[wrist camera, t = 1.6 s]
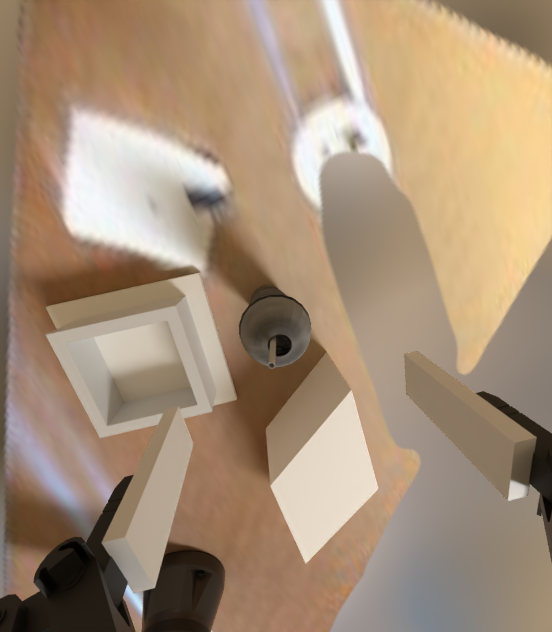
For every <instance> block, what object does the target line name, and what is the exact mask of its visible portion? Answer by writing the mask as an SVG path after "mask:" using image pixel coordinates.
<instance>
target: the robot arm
mask: <svg viewBox="0 0 552 632" xmlns="http://www.w3.org/2000/svg"><path fill="white" fill-rule="evenodd" d="M404 358H405V377H406V394H407V395H408V396H409V397H410V398H411V399H412V400H413V401H414V403H415V404H416V405H417V406H418V407H419V408H420V409H421V410H422V411H423V412H424V413H425V414H426V415H427V416H428V417H429V418H430V419H431V420H432V421H433V423H435V425H436V426H437V427H438V428H439V429H440V430H441V431H442V432H443V433H444V434H445V435H446V436H447V437H448V438H449V439H450V440H451V441H452V442H453V443H454V445H455V446H456V447H457V448H458V449H459V450H460V451H461V452H462V453H463V454H464V455H465V456H466V457H467V458H468V459H469V460H470V461H471V462H472V464H473V465H475V467H476V468H477V469H478V470H479V471H480V472H481V473H482V474H483V475H484V476H485V477H486V478H487V479H488V480H489V481H490V482H491V483H492V484H493V485H494V487H495V488H496V489H497V490H498V491H499V492H500V493H501V494H502V495H503V496H504V497H505V498H506V499H507V500H508V501H509V500H513V499H517V498H521V497H525V496H528V492H529V485H530V484H531V485H532V486H533V487H534V488H535V489H537V491H538V492H540V498H539V503H538V509H537V515H539V516H541V514H542V516H543V521H544V526H545V531H546V535H547V541H548V546H549V551H550V556H551V561H552V433H550V432H549V431H547V430H546V429H544V428H543V427H541V426H540V425H538V424H537V423H535V422H534V421H532V420H531V419H529V418H528V417H526V416H525V415H523V414H522V413H519V411H517V410H516V409H515V408H513V407H510V406H509V404H507V403H506V402H504V401H502V400H501V399H500V398H498V397H496V396H493V395H491V394H489V393H486V392H484V391H483V392H479V393H474V392H473V391H472V390H470V389H469V388H468V387H466V386H465V385H463V384H462V383H461V382H459V381H458V380H457V379H455V378H454V377H452V376H451V375H450V374H448V373H447V372H445V371H444V370H443V369H441V368H440V367H438V366H437V365H436V364H434V363H433V362H432V361H430V360H429V359H428V358H426V357H425V356H423V355H422V354H421V353H419V352H418V351H415V352H411V353H406V354H404ZM192 448H193V442H192V439H191V436H190V434H189V431H188V429H187V426H186V424H185V421H184V419H183V416H182V414H181V411H180V409H179V406H178V407H173V408H169V409H165V411H164V413H163V415H162V417H161V419H160V421H159V423H158V425H157V428H156V430H155V432H154V434H153V436H152V438H151V440H150V442H149V444H148V446H147V449H146V451H145V453H144V455H143V457H142V459H141V461H140V463H139V465H138V467H137V469H136V472H135V474H134V475H131V476H127V477H124V479H123V480H122V481H121V482H120V483H119V484H118V485H117V487H116V488H115V489H114V491H113V493H112V495H111V497H110V498H109V500H108V504H106V506H105V508H104V510H103V514H101V516H100V517H99V519H98V521H97V523H96V525H95V527H94V529H93V531H92V533H91V535H90V536H89V538H88V540H87V542H86V543H85V541H84V540H83V539H82V538H81V537H74V538H71V539H68V540H66V541H65V542H63V543H61V544H60V545H58V546H57V547H56V548H55V549H54V550H53V551H51V552H50V553H49V554H48V555H47V557H46V558H45V559H44V560H43V561H42V563H41V564H40V566H39V568H38V569H37V571H36V573H35V577H34V583H35V585H36V586H37V587H38V588H39V590H40V592H38V593H36V594H34V595H33V596H31V597H29V598H27V599H25V600H24V601H21V600H20V598H19V597H18V596H17V595H16V594H13V595H7V596H5V597H3V598H1V599H0V632H135V629H134V626H133V623H132V620H131V617H130V614H129V611H128V608H127V605H126V602H125V601H124V599H123V595H124V592H125V589H126V586H127V584H128V585H129V587H130V588H131V590H132V591H133V593H137V592H141V591H143V615H142V632H211V629H212V625H213V622H214V619H215V616H216V613H217V610H218V606H219V603H220V600H221V597H222V594H223V590H224V581H225V570H224V567H223V565H222V564H221V563H220V562H219V561H218V560H217V559H216V558H214V557H213V556H211V555H208V554H206V553H202V552H197V551H182V552H176V553H172V554H169V555H167V556H164V552H165V549H166V545H167V541H168V538H169V534H170V530H171V526H172V523H173V519H174V515H175V511H176V508H177V504H178V500H179V496H180V493H181V489H182V485H183V481H184V478H185V474H186V470H187V466H188V463H189V459H190V455H191V452H192ZM163 556H164V557H163Z"/></svg>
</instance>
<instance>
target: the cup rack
mask: <svg viewBox="0 0 552 632" xmlns="http://www.w3.org/2000/svg"><path fill="white" fill-rule="evenodd" d="M46 309H47V311H48V313H49V315H50V317H51V319H52V321H53V323H54V325H55V327H56V330H54V331H52V332H50V333H48V334H46V337H47V339H48V340H49V342H50V344H51V346H52V348H53V350H54V352H55V354H56V356H57V357H58V359H59V361H60V363H61V365H62V367H63V369H64V371H65V373H66V374H67V376H68V378H69V380H70V382H71V384H72V386H73V388H74V390H75V391H76V393H77V395H78V397H79V399H80V401H81V403H82V405H83V407H84V408H85V410H86V412H87V414H88V416H89V418H90V420H91V422H92V424H93V425H94V427H95V429H96V431H97V433H98V435H99V437H100V438H103V437H107V436H111V435H115V434H119V433H124V432H128V431H132V430H136V429H141V428H145V427H149V426H153V425H158V423H159V421H160V419H161V417H162V415H163V413H164V411H165V409H169V408H173V407H178V406H179V409H180V411H181V414H182V416H183V418H187V417H191V416H196V415H200V414H204V413H208V412H212V410H213V406H214V405H218V404H222V403H226V402H231V401H235V400H237V394H236V390H235V387H234V384H233V380H232V377H231V374H230V370H229V367H228V364H227V360H226V357H225V353H224V350H223V347H222V343H221V340H220V337H219V333H218V330H217V327H216V323H215V320H214V317H213V313H212V310H211V307H210V303H209V300H208V297H207V293H206V290H205V287H204V283H203V280H202V277H201V273H200V272H198V273H194V274H189V275H185V276H180V277H176V278H171V279H167V280H162V281H158V282H153V283H149V284H144V285H140V286H135V287H130V288H126V289H121V290H117V291H112V292H108V293H103V294H99V295H94V296H90V297H85V298H81V299H76V300H72V301H67V302H63V303H58V304H54V305H50V306H47V307H46Z"/></svg>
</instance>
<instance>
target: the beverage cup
mask: <svg viewBox="0 0 552 632" xmlns="http://www.w3.org/2000/svg"><path fill="white" fill-rule="evenodd" d="M239 335H240V338H241V341H242V343H243V346H244V347H245V350H246V351H247V352H248V353H249V355H250V356H251V357H252V358H253V359H254V360H256V361H257V362H259V363H261V364H262V365H266V366H268V367H269V368H270V369H273V368H275V367H283V366H286V365H289V364H292V363H293V362H295V361H296V360H298V359H299V358H300V357H301V356H302V355H303V354H304V352H305V351H306V349H307V347H308V345H309V342H310V339H311V322H310V319H309V315H308V313H307V311H306V310H305V308H304V307H303V305H302V304H300V303H299V302H298V301H296V300H295V299H294V298H291V297H288V296H286V295H285V294H284V293H283V292H282V291H280V290H279V289H278V288H276V287H273V286H263V287H260V288H259V289H258V290H256V292H255V293H254V295H253V296H252V299H251V302H250V305H249V306H248V308H247V309H246V310H245V312H244V313H243V315H242V318H241V321H240V324H239Z"/></svg>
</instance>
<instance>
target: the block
mask: <svg viewBox="0 0 552 632" xmlns="http://www.w3.org/2000/svg"><path fill="white" fill-rule="evenodd" d="M266 439H267V452H268V464H269V476H270V486H271V489H272V491H273V493H274V495H275V497H276V500H277V502H278V504H279V506H280V508H281V511H282V513H283V515H284V517H285V519H286V522H287V524H288V526H289V528H290V530H291V532H292V535H293V537H294V539H295V541H296V543H297V546H298V548H299V550H300V552H301V554H302V557H303V559H304V561H305V563H307V562H308V561H309V560H310V559H311V558H312V557H313V556H314V555H315V554H316V553H317V551H318V550H319V549H320V548H321V547H322V546H323V545H324V544H325V543H326V542H327V541H328V540H329V539H330V538H331V537H332V536H333V535H334V534H335V533H336V532H337V531H338V530H339V529H340V528H341V527H342V526H343V525H344V524H345V523H346V522H347V521H348V519H349V518H350V517H351V516H352V515H353V514H354V513H355V512H356V511H357V510H358V509H359V508H360V507H361V506H362V505H363V504H364V503H365V502H366V501H367V500H368V499H369V498H370V497H371V496H372V495H373V494H374V493H375V492H376V491H377V490H378V486H377V482H376V478H375V475H374V471H373V467H372V464H371V460H370V456H369V453H368V449H367V445H366V441H365V438H364V434H363V430H362V427H361V423H360V419H359V416H358V412H357V408H356V404H355V401H354V397H353V393H352V390H351V388H350V387H349V385H348V384H347V382H346V381H345V379H344V377H343V376H342V374H341V373H340V371H339V370H338V368H337V367H336V365H335V364H334V362H333V360H332V359H331V357H330V356H329V354H328V353H327V352H326V353H325V354H324V356H323V357H322V358H321V359H320V361H319V362H318V363H317V364H316V366H315V367H314V368H313V369H312V371H311V372H310V373H309V375H308V376H307V377H306V378H305V380H304V381H303V382H302V383H301V385H300V386H299V387H298V388H297V390H296V391H295V392H294V394H293V395H292V396H291V397H290V399H289V400H288V401H287V402H286V404H285V405H284V406H283V407H282V409H281V410H280V411H279V412H278V414H277V415H276V416H275V418H274V419H273V420H272V421H271V423H270V424H269V425H268V426H267V428H266Z"/></svg>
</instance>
